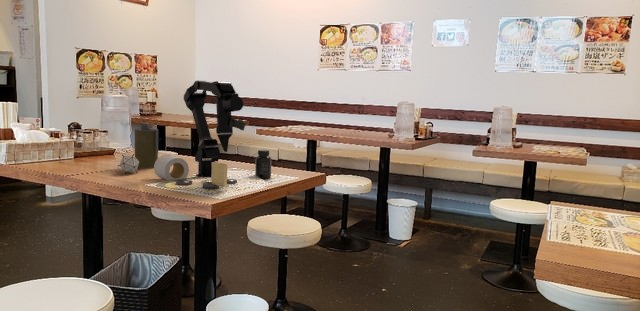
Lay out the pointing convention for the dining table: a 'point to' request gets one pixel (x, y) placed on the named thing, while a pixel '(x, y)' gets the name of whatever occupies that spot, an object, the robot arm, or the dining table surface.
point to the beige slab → (217, 176)
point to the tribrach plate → (189, 182)
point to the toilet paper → (166, 162)
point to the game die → (129, 163)
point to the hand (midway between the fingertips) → (225, 151)
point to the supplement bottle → (263, 165)
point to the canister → (146, 145)
